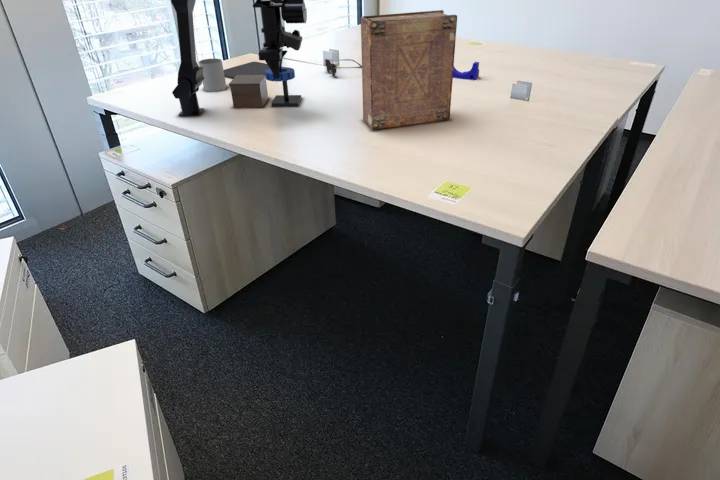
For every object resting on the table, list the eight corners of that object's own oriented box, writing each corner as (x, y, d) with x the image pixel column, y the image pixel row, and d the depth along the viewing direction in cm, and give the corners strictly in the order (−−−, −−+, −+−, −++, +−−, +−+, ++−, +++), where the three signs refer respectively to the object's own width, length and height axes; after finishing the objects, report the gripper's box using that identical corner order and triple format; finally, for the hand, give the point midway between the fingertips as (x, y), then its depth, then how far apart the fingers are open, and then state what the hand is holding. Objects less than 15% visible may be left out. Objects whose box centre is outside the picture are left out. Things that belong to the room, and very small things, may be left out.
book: (437, 111, 156) (444, 9, 139) (449, 120, 148) (458, 14, 132) (362, 120, 150) (360, 16, 133) (371, 130, 143) (370, 21, 126)
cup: (220, 92, 179) (215, 64, 173) (200, 91, 180) (194, 63, 175) (230, 85, 186) (225, 58, 180) (210, 84, 187) (205, 58, 182)
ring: (292, 81, 150) (292, 74, 149) (263, 81, 150) (262, 74, 149) (296, 73, 158) (295, 66, 157) (268, 74, 158) (267, 67, 157)
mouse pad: (245, 81, 190) (245, 80, 190) (213, 73, 200) (212, 72, 200) (286, 68, 205) (286, 67, 205) (254, 62, 215) (253, 61, 215)
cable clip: (478, 77, 187) (480, 61, 184) (475, 80, 184) (476, 64, 181) (449, 73, 192) (450, 58, 189) (445, 76, 189) (446, 61, 185)
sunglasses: (325, 70, 201) (324, 58, 198) (360, 68, 206) (361, 56, 203) (335, 79, 190) (335, 66, 187) (372, 76, 195) (373, 64, 192)
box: (263, 107, 163) (259, 83, 158) (232, 108, 163) (228, 83, 159) (269, 98, 171) (266, 74, 167) (240, 98, 172) (236, 75, 167)
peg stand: (297, 106, 163) (295, 83, 159) (271, 106, 163) (268, 84, 159) (301, 98, 170) (299, 76, 166) (276, 98, 171) (273, 76, 166)
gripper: (293, 29, 134) (299, 85, 143) (303, 17, 149) (307, 69, 158) (254, 29, 134) (262, 86, 143) (268, 18, 150) (274, 69, 159)
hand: (278, 77), depth 151 cm, fingers closed on ring, 2 cm apart
